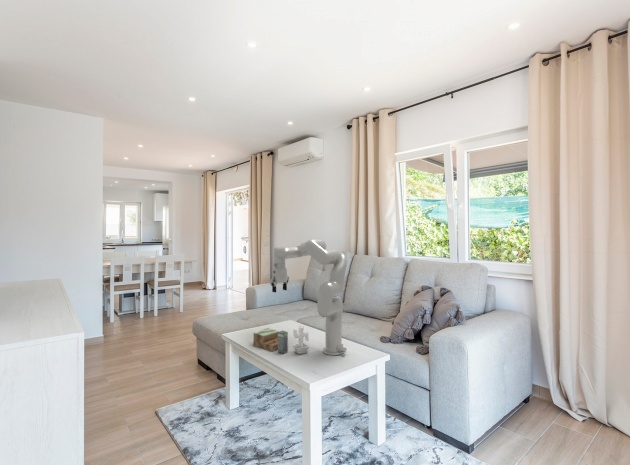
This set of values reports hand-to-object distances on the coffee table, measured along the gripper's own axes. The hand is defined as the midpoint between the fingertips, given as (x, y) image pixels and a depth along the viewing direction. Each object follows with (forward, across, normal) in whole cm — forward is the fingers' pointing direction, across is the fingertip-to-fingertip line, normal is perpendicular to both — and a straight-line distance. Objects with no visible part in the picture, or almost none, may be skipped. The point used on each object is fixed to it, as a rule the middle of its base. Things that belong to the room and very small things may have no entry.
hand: (279, 291), depth 223 cm
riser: (+31, -16, -8) cm, 35 cm away
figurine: (+31, -12, -30) cm, 44 cm away
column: (+31, -19, -22) cm, 42 cm away
